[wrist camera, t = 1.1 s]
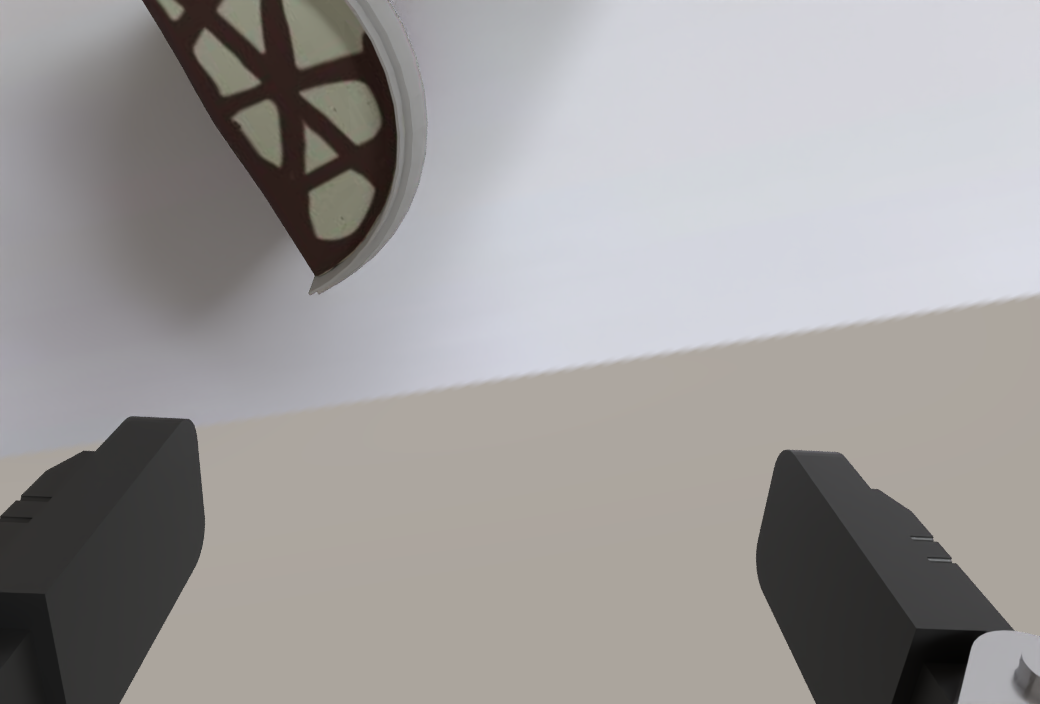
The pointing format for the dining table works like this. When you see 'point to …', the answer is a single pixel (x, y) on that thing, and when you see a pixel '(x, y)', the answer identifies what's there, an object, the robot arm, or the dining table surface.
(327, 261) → the food container
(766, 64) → the dining table surface
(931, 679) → the robot arm
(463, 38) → the dining table surface
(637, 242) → the dining table surface
